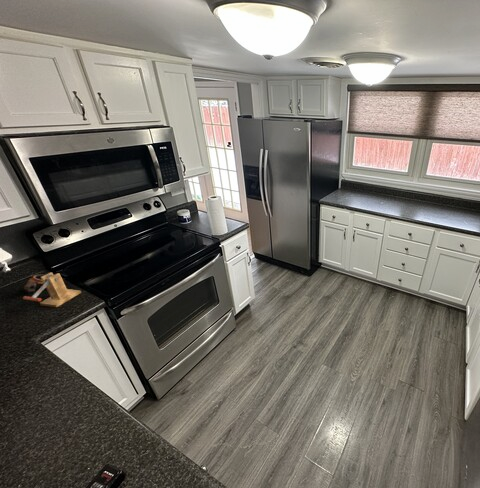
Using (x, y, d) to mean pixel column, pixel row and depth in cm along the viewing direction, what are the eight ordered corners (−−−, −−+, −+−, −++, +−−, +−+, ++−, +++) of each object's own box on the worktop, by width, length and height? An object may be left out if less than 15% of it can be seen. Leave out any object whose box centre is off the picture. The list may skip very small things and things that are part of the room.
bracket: (56, 307, 125) (44, 283, 119) (40, 305, 126) (27, 281, 120) (81, 292, 136) (71, 269, 130) (66, 290, 137) (55, 267, 131)
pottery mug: (33, 285, 141) (39, 271, 140) (54, 291, 144) (59, 277, 143) (13, 293, 129) (19, 278, 129) (36, 299, 132) (42, 285, 132)
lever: (40, 302, 119) (36, 300, 117) (25, 300, 120) (20, 297, 118) (63, 278, 127) (59, 275, 126) (48, 276, 128) (44, 273, 126)
